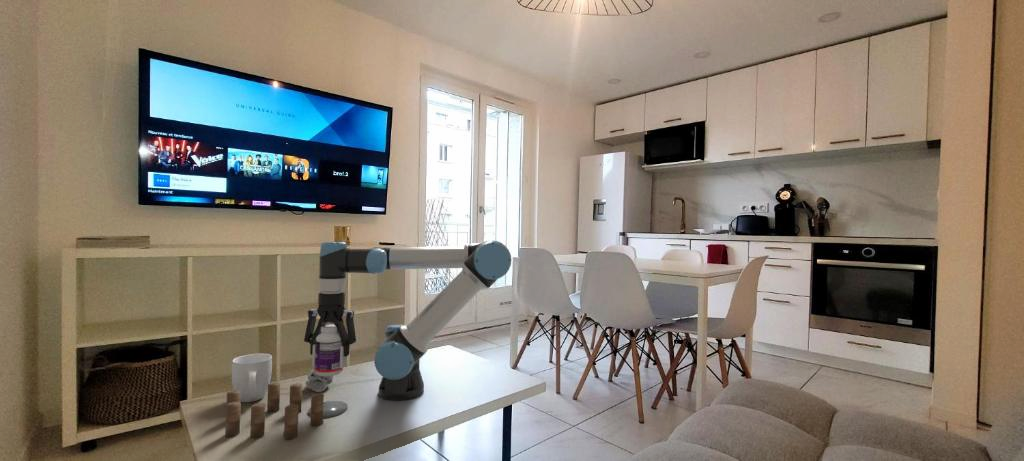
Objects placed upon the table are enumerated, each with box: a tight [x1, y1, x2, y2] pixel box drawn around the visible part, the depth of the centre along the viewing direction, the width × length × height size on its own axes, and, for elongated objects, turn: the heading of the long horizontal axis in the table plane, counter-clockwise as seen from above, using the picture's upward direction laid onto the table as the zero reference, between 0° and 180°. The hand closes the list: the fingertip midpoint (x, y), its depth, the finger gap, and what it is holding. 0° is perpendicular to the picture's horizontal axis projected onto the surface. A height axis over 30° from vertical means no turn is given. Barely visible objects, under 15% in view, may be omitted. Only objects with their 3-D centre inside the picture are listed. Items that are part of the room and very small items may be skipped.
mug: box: [231, 353, 273, 403], centre depth 130 cm, size 15×11×13 cm
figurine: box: [305, 367, 334, 393], centre depth 143 cm, size 8×10×12 cm
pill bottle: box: [315, 323, 344, 377], centre depth 125 cm, size 8×8×14 cm
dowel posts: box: [224, 381, 325, 441], centre depth 115 cm, size 28×18×8 cm, turn 86°
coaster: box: [307, 400, 349, 419], centre depth 125 cm, size 11×11×1 cm
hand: (329, 365), depth 125 cm, fingers closed on pill bottle, 8 cm apart
